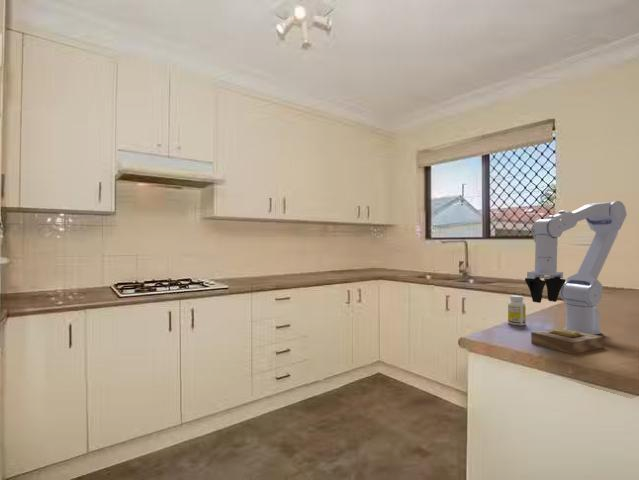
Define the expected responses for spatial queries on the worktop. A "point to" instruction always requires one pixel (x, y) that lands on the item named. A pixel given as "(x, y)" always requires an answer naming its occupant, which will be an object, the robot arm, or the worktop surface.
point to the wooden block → (566, 333)
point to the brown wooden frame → (567, 341)
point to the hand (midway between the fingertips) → (544, 301)
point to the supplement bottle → (516, 310)
